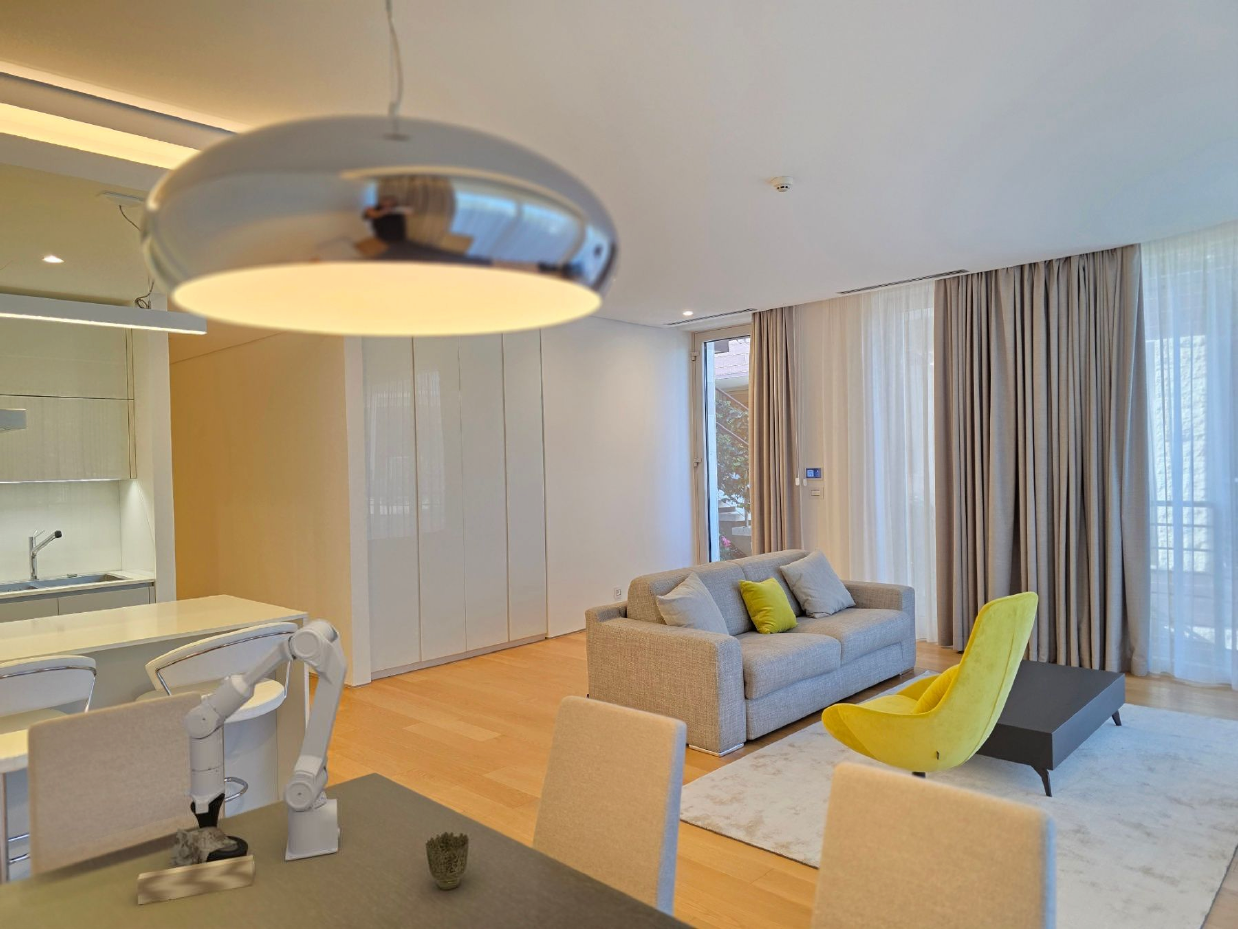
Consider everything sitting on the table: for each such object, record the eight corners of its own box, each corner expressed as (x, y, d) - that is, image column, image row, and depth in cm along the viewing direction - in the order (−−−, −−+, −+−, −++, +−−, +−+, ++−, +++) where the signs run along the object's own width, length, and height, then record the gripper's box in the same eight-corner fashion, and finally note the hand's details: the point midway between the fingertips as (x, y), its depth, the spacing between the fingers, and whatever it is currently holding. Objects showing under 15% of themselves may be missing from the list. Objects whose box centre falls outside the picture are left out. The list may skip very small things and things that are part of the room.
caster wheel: (252, 871, 157) (207, 888, 148) (211, 848, 162) (166, 864, 153) (260, 836, 157) (217, 851, 148) (220, 815, 162) (175, 828, 153)
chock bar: (254, 873, 151) (254, 848, 151) (252, 885, 147) (251, 859, 147) (144, 892, 145) (143, 867, 145) (138, 905, 141) (137, 879, 141)
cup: (477, 878, 146) (476, 834, 146) (456, 900, 139) (455, 852, 139) (441, 873, 149) (440, 829, 149) (418, 893, 142) (417, 847, 142)
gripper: (190, 756, 164) (192, 824, 164) (176, 782, 150) (178, 856, 150) (229, 751, 166) (231, 818, 166) (218, 776, 152) (221, 849, 152)
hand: (209, 836), depth 158 cm, fingers closed
